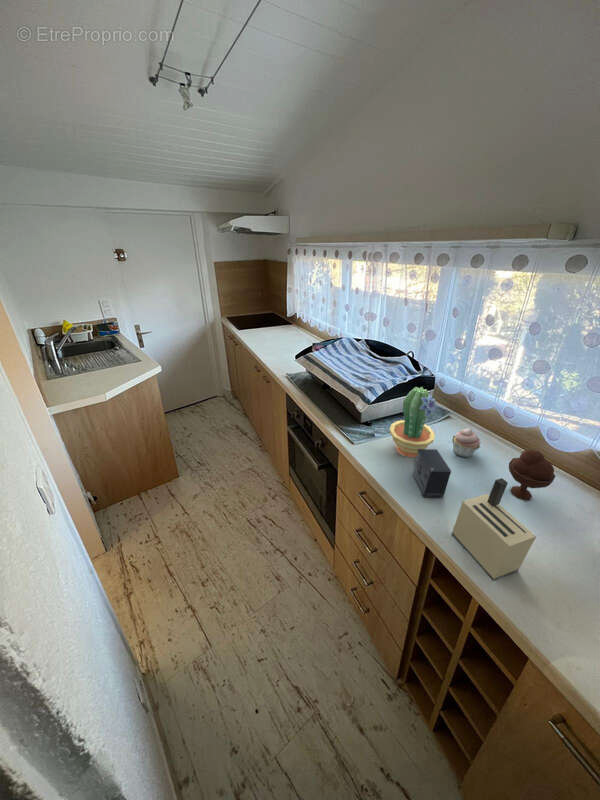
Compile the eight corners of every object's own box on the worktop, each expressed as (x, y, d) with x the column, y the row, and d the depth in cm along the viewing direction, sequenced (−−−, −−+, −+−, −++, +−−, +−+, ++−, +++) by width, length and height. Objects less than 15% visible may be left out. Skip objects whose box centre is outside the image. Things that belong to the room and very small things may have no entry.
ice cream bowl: (494, 493, 92) (510, 453, 85) (507, 475, 99) (523, 438, 92) (535, 513, 85) (556, 472, 78) (546, 493, 92) (567, 454, 85)
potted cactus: (389, 461, 106) (399, 398, 94) (384, 435, 120) (393, 377, 108) (435, 465, 104) (452, 400, 92) (425, 438, 118) (439, 379, 106)
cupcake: (480, 462, 105) (488, 438, 100) (451, 458, 107) (457, 434, 102) (474, 446, 113) (481, 423, 108) (447, 442, 115) (453, 420, 110)
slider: (493, 499, 74) (502, 477, 71) (499, 504, 73) (508, 482, 70) (487, 501, 74) (495, 479, 70) (492, 506, 72) (501, 484, 69)
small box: (445, 498, 91) (453, 471, 86) (423, 498, 91) (430, 471, 86) (431, 473, 100) (437, 448, 95) (411, 474, 100) (417, 448, 95)
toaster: (474, 526, 82) (486, 493, 76) (518, 570, 71) (536, 536, 65) (451, 534, 80) (462, 500, 74) (493, 580, 69) (509, 546, 63)
